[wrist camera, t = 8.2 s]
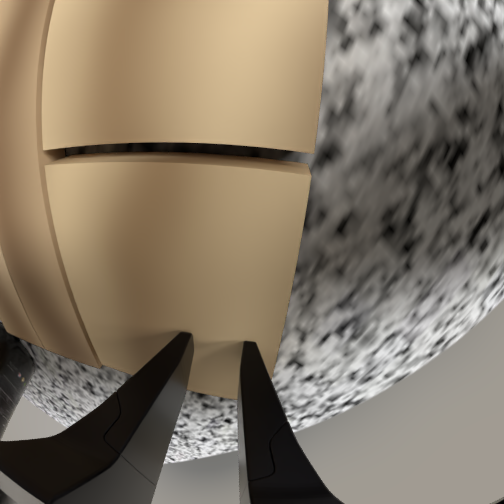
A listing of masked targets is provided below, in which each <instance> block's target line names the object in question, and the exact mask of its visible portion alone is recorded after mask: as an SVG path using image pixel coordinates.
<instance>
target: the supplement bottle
mask: <svg viewBox="0 0 504 504" xmlns="http://www.w3.org/2000/svg"><path fill="white" fill-rule="evenodd" d="M34 371H35V367H34V363H33V360H32V358H31V357H30V355H29V353H28V352H27V350H26V349H25V348H24V346H23V345H22V344H21V343H20V342H19V340H18V339H17V338H16V337H15V336H14V335H12V334H10V333H8V332H7V331H6V329H5V327H4V325H3V324H1V323H0V441H1V438H2V436H3V434H4V432H5V430H6V427H7V425H8V423H9V421H10V419H11V417H12V415H13V412H14V410H15V408H16V406H17V404H18V402H19V401H20V398H21V397H22V395H23V393H24V391H25V389H26V387H27V385H28V384H29V382H30V380H31V378H32V376H33V374H34Z"/></svg>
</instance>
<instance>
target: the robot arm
mask: <svg viewBox="0 0 504 504" xmlns="http://www.w3.org/2000/svg"><path fill="white" fill-rule="evenodd" d="M193 355H194V341H193V335H192V333H189V332H180V333H179V334H177V335H176V336H175V337H174V338H173V339H172V340H171V341H170V342H169V343H168V344H167V345H166V346H165V347H163V348H162V349H161V350H160V351H159V352H158V353H157V354H156V355H155V356H154V357H153V358H152V359H150V360H149V361H148V362H147V363H146V364H145V365H144V366H143V367H142V368H141V369H140V370H139V371H137V372H136V373H135V374H134V375H133V376H132V377H131V378H130V379H129V380H128V381H127V382H125V383H124V384H123V385H122V386H121V387H120V388H119V389H118V390H117V392H114V393H113V394H112V395H111V396H110V397H109V398H108V399H107V400H105V401H104V402H103V403H102V404H101V405H100V406H98V407H97V408H96V409H94V410H93V411H92V412H90V413H89V414H88V415H86V416H85V417H83V418H82V419H80V420H79V421H77V422H76V423H75V424H73V425H72V426H70V427H69V428H67V429H66V430H64V431H63V432H61V433H59V434H57V435H54V436H51V437H47V438H40V439H30V440H19V441H0V504H151V502H152V498H153V495H154V492H155V489H156V485H157V482H158V479H159V476H160V472H161V469H162V466H163V463H164V459H165V456H166V453H167V450H168V447H169V444H170V440H171V437H172V434H173V431H174V428H175V425H176V422H177V419H178V416H179V413H180V410H181V406H182V403H183V400H184V397H185V394H186V391H187V386H188V381H189V376H190V371H191V365H192V360H193ZM237 418H238V459H239V490H240V491H239V492H240V504H344V503H343V502H341V501H340V500H339V499H338V498H336V497H335V496H334V495H333V494H332V493H331V492H330V491H329V490H328V488H327V487H326V486H325V484H324V483H323V482H322V480H321V479H320V477H319V476H318V474H317V472H316V471H315V469H314V468H313V466H312V465H311V463H310V462H309V460H308V459H307V457H306V455H305V454H304V452H303V450H302V448H301V447H300V445H299V443H298V441H297V439H296V437H295V435H294V433H293V431H292V428H291V426H290V424H289V422H288V421H287V420H288V419H287V417H286V414H285V412H284V410H283V407H282V405H281V402H280V400H279V398H278V395H277V393H276V390H275V388H274V385H273V383H272V381H271V378H270V376H269V373H268V371H267V368H266V366H265V363H264V361H263V358H262V356H261V353H260V351H259V348H258V346H257V343H256V342H253V341H244V342H243V349H242V356H241V362H240V372H239V384H238V396H237ZM491 504H504V497H503V498H501V499H499V500H497V501H495V502H493V503H491Z"/></svg>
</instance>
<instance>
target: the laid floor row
mask: <svg viewBox="0 0 504 504" xmlns="http://www.w3.org/2000/svg"><path fill="white" fill-rule="evenodd" d="M54 3H55V0H0V320H1V322H2V323H3V325H4V327H5V329H6V331H7V332H8V333H10V334H12V335H14V336H16V337H19V338H21V339H23V340H25V341H27V342H29V343H32V344H34V345H36V346H39V347H41V348H43V349H46V350H48V351H51V352H53V353H56V354H58V355H61V356H64V357H66V358H69V359H72V360H75V361H77V362H80V363H83V364H86V365H89V366H92V367H96V368H99V369H100V368H101V366H102V364H101V362H100V360H99V357H98V355H97V353H96V351H95V349H94V347H93V344H92V342H91V340H90V337H89V335H88V333H87V330H86V328H85V325H84V323H83V320H82V318H81V315H80V312H79V310H78V307H77V304H76V302H75V299H74V296H73V293H72V290H71V287H70V284H69V281H68V277H67V274H66V271H65V267H64V264H63V260H62V257H61V253H60V249H59V245H58V241H57V237H56V232H55V228H54V223H53V218H52V213H51V208H50V202H49V196H48V190H47V183H46V175H45V166H44V165H47V164H49V163H52V162H54V161H57V160H59V159H62V158H65V148H58V149H50V150H43V141H42V82H43V69H44V59H45V50H46V43H47V37H48V31H49V25H50V20H51V16H52V11H53V7H54Z"/></svg>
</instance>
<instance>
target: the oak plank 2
mask: <svg viewBox="0 0 504 504" xmlns="http://www.w3.org/2000/svg"><path fill="white" fill-rule="evenodd" d="M44 166H45V175H46V183H47V190H48V196H49V202H50V208H51V213H52V218H53V223H54V228H55V232H56V237H57V241H58V245H59V249H60V253H61V257H62V260H63V264H64V267H65V271H66V274H67V277H68V281H69V284H70V287H71V290H72V293H73V296H74V299H75V302H76V304H77V307H78V310H79V312H80V315H81V318H82V320H83V323H84V325H85V328H86V330H87V333H88V335H89V337H90V340H91V342H92V344H93V347H94V349H95V351H96V353H97V355H98V357H99V360H100V362H101V364H102V365H105V366H107V367H110V368H113V369H116V370H119V371H122V372H125V373H128V374H131V375H134V374H135V373H136V372H137V371H139V370H140V369H141V368H142V367H143V366H144V365H145V364H146V363H147V362H148V361H149V360H150V359H152V358H153V357H154V356H155V355H156V354H157V353H158V352H159V351H160V350H161V349H162V348H163V347H165V346H166V345H167V344H168V343H169V342H170V341H171V340H172V339H173V338H174V337H175V336H176V335H177V334H179V333H180V332H189V333H192V335H193V341H194V355H193V360H192V365H191V371H190V376H189V381H188V386H187V390H189V391H193V392H198V393H202V394H207V395H212V396H217V397H223V398H228V399H234V400H237V396H238V384H239V372H240V362H241V356H242V349H243V342H244V341H253V342H256V343H257V346H258V348H259V351H260V353H261V356H262V358H263V361H264V363H265V366H266V368H267V371H268V373H269V376H270V378H271V380H272V376H273V372H274V368H275V364H276V359H277V355H278V351H279V346H280V342H281V337H282V333H283V328H284V324H285V319H286V315H287V310H288V305H289V300H290V295H291V290H292V285H293V280H294V275H295V270H296V265H297V259H298V254H299V249H300V243H301V237H302V232H303V226H304V220H305V214H306V208H307V202H308V195H309V189H310V182H311V173H310V170H309V167H308V164H305V163H298V162H290V161H283V160H274V159H266V158H256V157H246V156H234V155H221V154H205V153H182V152H111V153H90V154H75V155H70V156H68V157H65V158H62V159H59V160H57V161H54V162H52V163H49V164H47V165H44Z"/></svg>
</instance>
